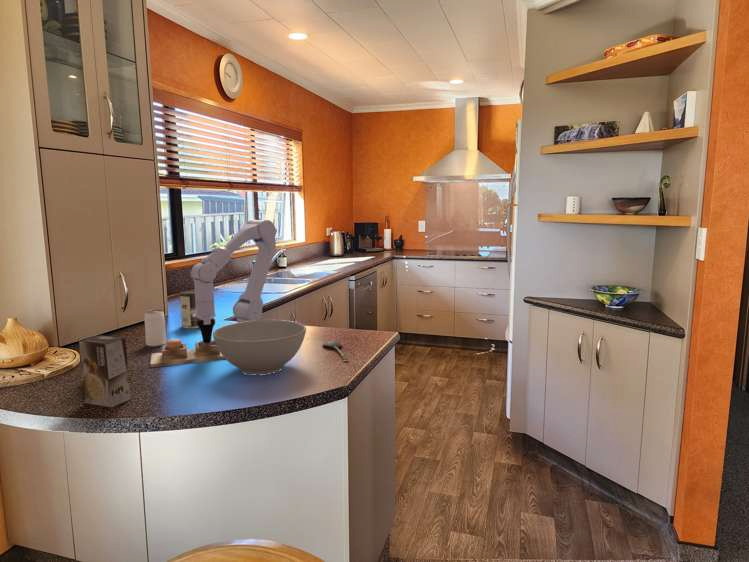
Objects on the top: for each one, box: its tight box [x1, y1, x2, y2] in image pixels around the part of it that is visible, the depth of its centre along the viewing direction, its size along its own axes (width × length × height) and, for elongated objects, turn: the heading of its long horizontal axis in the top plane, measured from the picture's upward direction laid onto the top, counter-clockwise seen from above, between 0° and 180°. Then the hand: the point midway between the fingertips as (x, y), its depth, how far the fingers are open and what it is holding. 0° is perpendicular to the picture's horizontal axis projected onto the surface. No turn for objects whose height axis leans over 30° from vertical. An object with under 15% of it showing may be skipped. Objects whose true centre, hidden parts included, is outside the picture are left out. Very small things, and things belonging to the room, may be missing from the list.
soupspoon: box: [322, 340, 349, 361], centre depth 171 cm, size 22×3×7 cm
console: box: [149, 339, 226, 368], centre depth 167 cm, size 24×12×4 cm, turn 111°
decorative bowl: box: [212, 319, 307, 376], centre depth 153 cm, size 27×27×12 cm
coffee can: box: [178, 289, 201, 329], centre depth 210 cm, size 10×10×14 cm
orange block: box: [166, 338, 182, 350], centre depth 164 cm, size 4×4×3 cm
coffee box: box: [78, 334, 131, 408], centre depth 129 cm, size 9×6×16 cm
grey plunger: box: [199, 339, 214, 346], centre depth 168 cm, size 4×4×3 cm
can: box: [143, 309, 167, 347], centre depth 182 cm, size 6×6×12 cm
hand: (207, 341), depth 168 cm, fingers closed
